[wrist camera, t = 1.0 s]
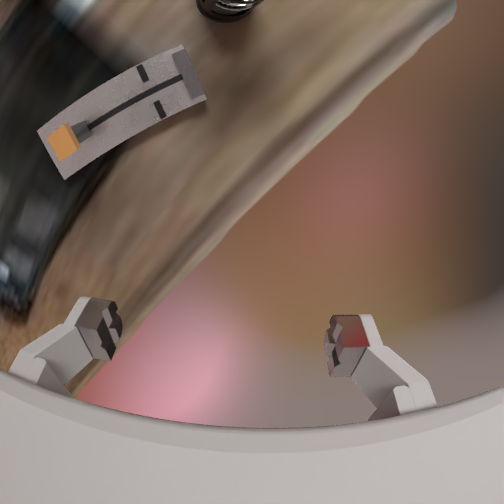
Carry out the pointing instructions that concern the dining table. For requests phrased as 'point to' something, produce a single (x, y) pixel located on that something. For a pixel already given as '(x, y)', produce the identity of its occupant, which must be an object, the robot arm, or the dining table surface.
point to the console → (127, 106)
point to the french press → (246, 3)
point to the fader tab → (68, 139)
